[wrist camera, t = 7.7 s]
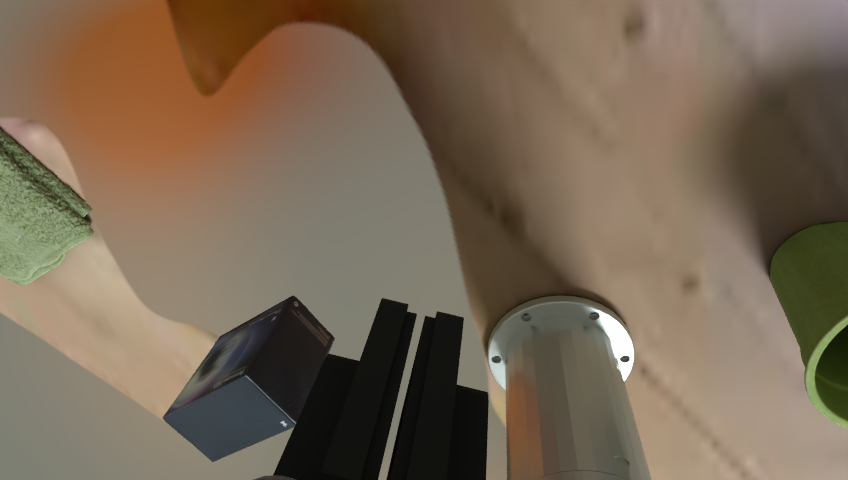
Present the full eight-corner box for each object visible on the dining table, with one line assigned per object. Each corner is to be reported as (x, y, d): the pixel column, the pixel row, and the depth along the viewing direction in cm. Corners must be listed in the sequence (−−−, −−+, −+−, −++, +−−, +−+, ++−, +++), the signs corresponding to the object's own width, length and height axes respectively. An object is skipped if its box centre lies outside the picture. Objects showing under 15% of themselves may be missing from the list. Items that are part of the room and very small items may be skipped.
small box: (292, 289, 47) (243, 373, 38) (338, 337, 49) (302, 427, 40) (216, 334, 51) (156, 419, 42) (261, 376, 53) (214, 466, 45)
